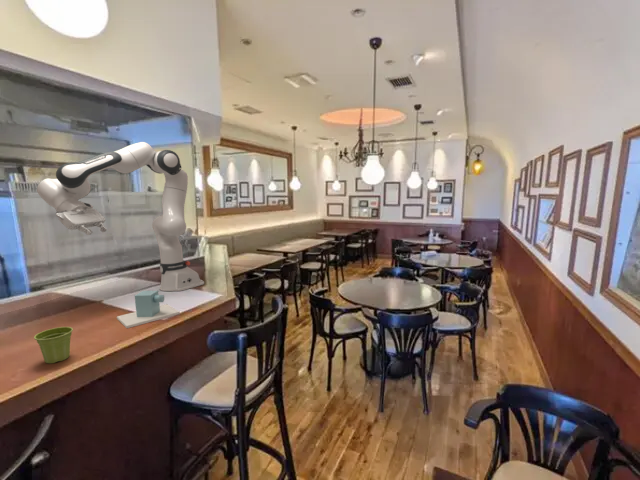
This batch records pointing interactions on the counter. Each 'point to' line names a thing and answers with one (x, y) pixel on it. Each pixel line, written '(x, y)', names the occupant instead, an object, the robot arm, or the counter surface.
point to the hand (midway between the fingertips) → (98, 232)
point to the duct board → (133, 320)
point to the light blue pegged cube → (148, 303)
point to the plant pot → (55, 343)
